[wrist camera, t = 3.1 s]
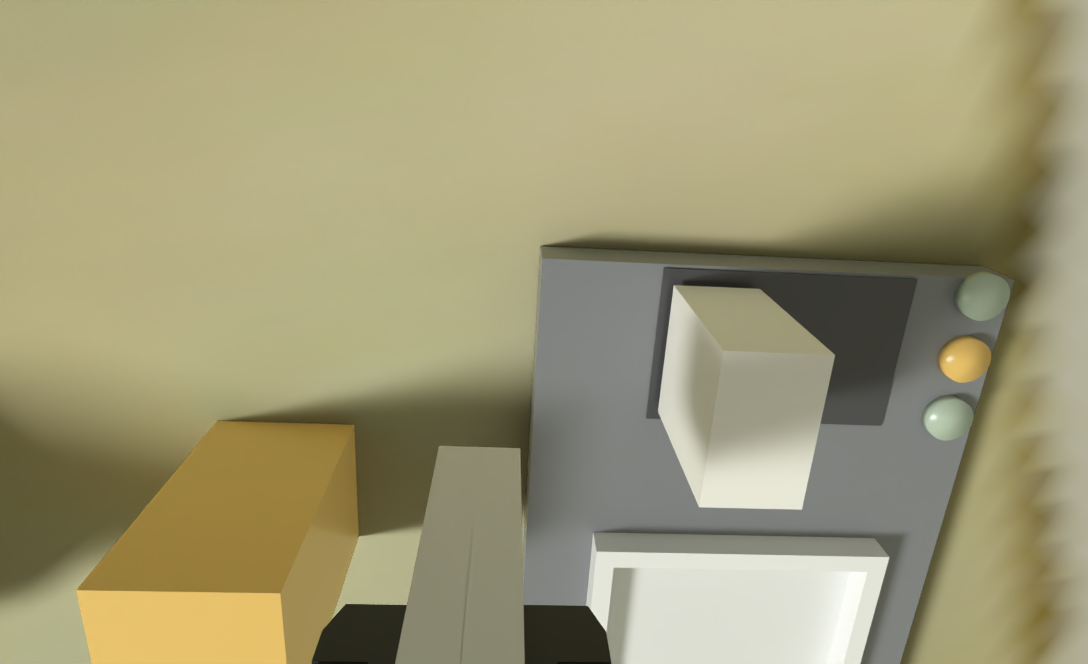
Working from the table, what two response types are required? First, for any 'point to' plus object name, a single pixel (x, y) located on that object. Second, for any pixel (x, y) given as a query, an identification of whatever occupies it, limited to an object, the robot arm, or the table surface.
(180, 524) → the yellow rectangular block
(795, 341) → the block
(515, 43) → the table surface
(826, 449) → the panel
